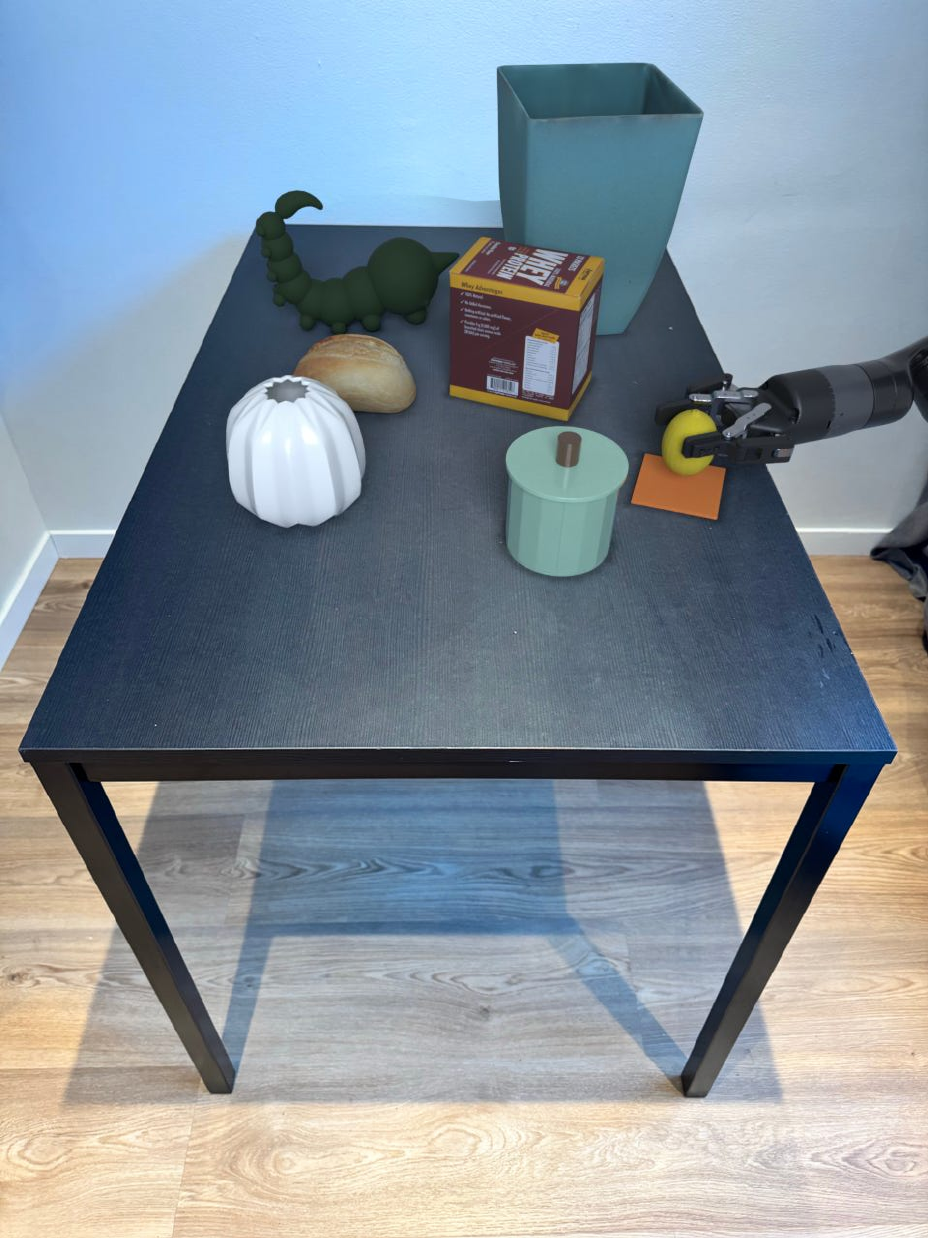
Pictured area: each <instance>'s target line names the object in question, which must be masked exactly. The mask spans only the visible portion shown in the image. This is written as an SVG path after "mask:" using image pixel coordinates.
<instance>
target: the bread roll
mask: <svg viewBox="0 0 928 1238" xmlns="http://www.w3.org/2000/svg"><path fill="white" fill-rule="evenodd" d="M291 375H294V376H297V377H300V376H303V377H307V378H310V379H313V380H316V381H319V382H321V383H323V384H326V385H328V386H329V387H331V388H333V389H335V390H336V392H337V394H338V396H339V397H340V398H341V399H342V400H344V401H345V402H346V403H347V404H348V405H349V407H350V408H351V410H352V411H353V412H364V413H373V414H376V413H377V414H399V413H400V412H403V411H405V410H407V409H408V408H409V407H410V406H411V405H412V404H413V403H414V401H415V400H416V397H417V386H416V383H415V380H414V377H413V374H412V372H411V371H410V369H409V367H408V365H407V364H406V362H405V359H404V357H403V355H401V354H400V353H399V352H398V351H397V349H396V348H394V346H393V345H391V344H390V343H388V342H387V341H384V340H382V339H380V338H378V337H375V336H371V335H366V334H357V333H345V334H341V335H335V334H333V335H330V336H326V337H325V338H323V339H321V340H320V341H318V342H316V343H314V344H313V345H312V346H311V348H310V349H309V350H307V353H305V354H304V355H303V356H302V358H301V359H300V360H299V361H298V363H297V365H296V366H295V369H294V371H293V373H292V374H291Z"/></svg>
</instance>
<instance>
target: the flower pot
mask: <svg viewBox="0 0 928 1238" xmlns="http://www.w3.org/2000/svg"><path fill="white" fill-rule="evenodd" d="M496 97H497V98H496V100H497V101H496V102H497V162H498V163H497V164H498V167H497V168H498V171H497V172H498V173H497V174H498V192H499V204H500V214H501V223H502V230H503V236H504V241H507V242H513V243H519V244H524V245H530V246H535V247H540V248H546V249H553V250H559V251H565V252H571V253H577V254H583V255H590V256H597V257H601V258H604V259H605V264H604V272H603V280H602V289H601V297H600V305H599V313H598V322H597V330H596V336H610V335H621V334H623V333H624V332H625V331H626V329H627V328H628V326H629V324H630V322H631V321H632V319H633V318H634V316H635V315H636V313H637V312H638V310H639V308H640V306H641V304H642V303H643V301H644V300H645V297H646V295H647V293H648V291H649V289H650V287H651V285H652V282H653V280H654V278H655V276H656V274H657V272H658V270H659V267H660V264H661V262H662V261H663V257H664V255H665V252H666V250H667V247H668V244H669V241H670V238H671V236H672V232H673V230H674V229H673V228H674V225H675V222H676V218H677V215H678V210H679V208H680V202H681V200H682V196H683V192H684V189H685V185H686V181H687V178H688V174H689V170H690V166H691V162H692V160H693V156H694V153H695V148H696V145H697V142H698V138H699V134H700V131H701V127H702V123H703V119H704V115H705V112H704V110H703V109H702V108H701V107H700V106H699V105H697V103H696V102H695V101H693V100H692V99H691V97H689V95H687V94H686V93H685V92H684V91H683V90H682V89H681V88H680V87H679V86H677V84H675V82H674V81H672V79H670V78H669V77H668V76H667V74H665V73H664V72H663V71H662V69H660V68H659V67H658V66H657V65H655V64H654V63H651V62H601V63H600V62H595V63H591V62H590V63H549V64H504V65H499V66H497V67H496Z"/></svg>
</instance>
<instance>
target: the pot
mask: <svg viewBox="0 0 928 1238" xmlns="http://www.w3.org/2000/svg"><path fill="white" fill-rule="evenodd" d="M620 493H621V487H620V488H619V489H618V490H616V491H615V492H614V493H612V494H610V495H608V496H606V497H604V498H601V499H598V500H594V501H589V502H581V503H564V502H556V501H551V500H547V499H543V498H540V497H537V496H535V495H533V494H530V493H529V492H527V491H525V490H523V489H522V488H521V487H519V486H518V485H517V484H516V483H515V482H514V481H513V480H512V479H511V477H510V476H509V475H508V485H507V501H506V517H505V531H504V533H505V544H506V547H507V550H508V552H509V554H510V555H511V557H512V558H513V559H514V560H515V561H516V562H518V563H519V565H521V566H523V567H524V568H526V569H528V570H530V571H532V572H535V573H538V574H542V575H545V576H551V577H572V576H573V577H574V576H579V575H582V574H586V573H588V572H590V571H592V570H594V569H596V568H597V567H599V566H600V565H601V564H602V563H603V562H604V561H605V559H607V556H608V554H609V550H610V547H611V543H612V539H613V538H612V537H613V532H614V526H615V521H616V515H617V509H618V503H619V498H620V497H619V496H620Z"/></svg>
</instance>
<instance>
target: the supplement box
mask: <svg viewBox="0 0 928 1238" xmlns="http://www.w3.org/2000/svg"><path fill="white" fill-rule="evenodd" d="M604 264H605V259H604V258H601V257H597V256H590V255H583V254H577V253H571V252H565V251H559V250H553V249H546V248H540V247H535V246H530V245H524V244H519V243H513V242H507V241H505V240H502V239H497V238H496V239H495V238H491V237H485V236H480V238H478V240H476V242H475V243H474V244H473V245H472V246H471V247H470V248H469V249H468V251H466V253H465V254H464V255H463V256H462V257H461V258H460V259H459V260H458V261H457V262H456V263H455V264H454V265H453V266H452V267H451V268H450V270H449V271H448V273H449V396H450V397H456V398H460V399H465V400H469V401H474V402H478V403H482V404H487V405H492V406H494V407H495V406H496V407H500V408H505V409H509V410H514V411H519V412H523V413H527V414H531V415H537V416H540V417H545V418H549V419H553V420H554V419H555V420H558V421H563V422H568V421H569V420H570V418H571V416H572V414H573V412H574V411H575V409H576V407H577V405H578V403H579V402H580V401H581V399H582V396H583V395H584V393H585V391H586V389H587V388H588V385H589V383H590V382H591V380H592V376H593V375H592V374H593V363H594V362H593V361H594V354H595V346H596V336H597V335H596V330H597V322H598V313H599V305H600V297H601V289H602V280H603V272H604Z"/></svg>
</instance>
